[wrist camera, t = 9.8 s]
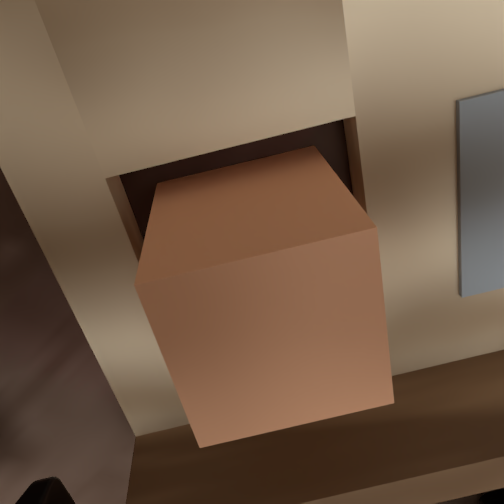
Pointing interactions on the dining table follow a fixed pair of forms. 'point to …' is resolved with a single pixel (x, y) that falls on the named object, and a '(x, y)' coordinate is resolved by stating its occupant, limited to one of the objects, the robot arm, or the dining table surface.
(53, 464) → the dining table surface
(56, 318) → the dining table surface
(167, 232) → the block
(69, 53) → the puzzle board
